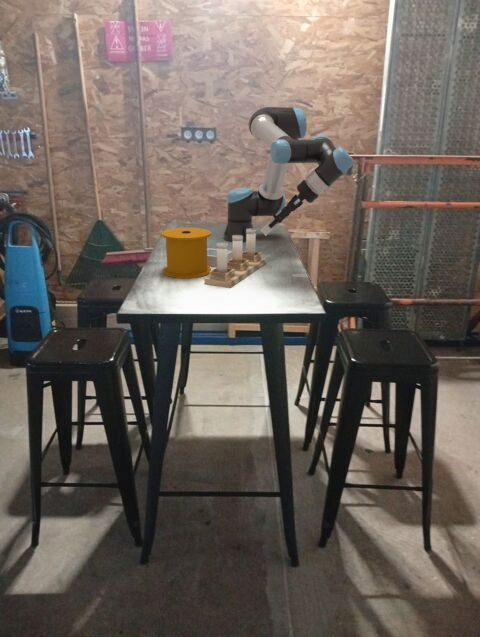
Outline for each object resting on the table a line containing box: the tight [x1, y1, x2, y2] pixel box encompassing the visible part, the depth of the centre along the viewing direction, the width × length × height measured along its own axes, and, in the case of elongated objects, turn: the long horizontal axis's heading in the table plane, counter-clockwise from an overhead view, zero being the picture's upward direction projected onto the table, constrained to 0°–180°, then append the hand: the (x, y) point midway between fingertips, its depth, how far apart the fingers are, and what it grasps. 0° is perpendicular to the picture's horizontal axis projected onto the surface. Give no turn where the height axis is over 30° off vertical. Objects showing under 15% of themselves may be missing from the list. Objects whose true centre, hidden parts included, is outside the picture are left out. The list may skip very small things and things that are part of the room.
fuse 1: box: [216, 241, 229, 273], centre depth 167 cm, size 4×4×12 cm
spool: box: [161, 227, 212, 279], centre depth 179 cm, size 18×18×15 cm
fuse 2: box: [245, 227, 257, 256], centre depth 189 cm, size 4×4×12 cm
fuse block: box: [204, 250, 267, 288], centre depth 180 cm, size 34×10×4 cm, turn 156°
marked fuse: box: [232, 235, 243, 264], centre depth 178 cm, size 4×4×12 cm
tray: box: [207, 247, 233, 268], centre depth 193 cm, size 11×11×4 cm
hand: (266, 229), depth 172 cm, fingers open, 13 cm apart
